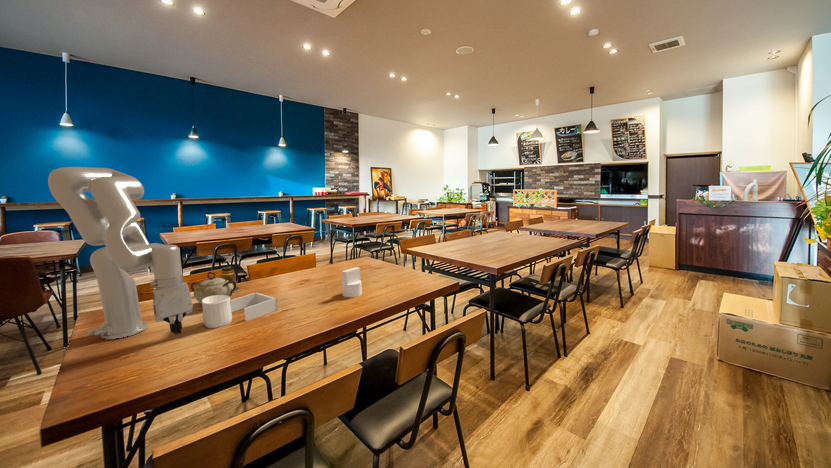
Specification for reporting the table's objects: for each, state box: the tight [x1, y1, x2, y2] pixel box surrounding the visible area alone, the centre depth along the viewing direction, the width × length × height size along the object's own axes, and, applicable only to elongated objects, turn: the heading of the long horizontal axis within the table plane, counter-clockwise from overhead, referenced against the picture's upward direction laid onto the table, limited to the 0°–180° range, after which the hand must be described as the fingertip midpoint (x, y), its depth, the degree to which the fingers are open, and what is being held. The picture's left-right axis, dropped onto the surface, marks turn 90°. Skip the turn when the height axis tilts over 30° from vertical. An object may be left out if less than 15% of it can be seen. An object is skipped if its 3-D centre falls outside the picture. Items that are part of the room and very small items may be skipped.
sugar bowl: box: [190, 271, 237, 305], centre depth 142 cm, size 20×15×15 cm
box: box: [230, 292, 278, 322], centre depth 134 cm, size 13×15×5 cm
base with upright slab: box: [341, 267, 363, 298], centre depth 153 cm, size 9×9×12 cm
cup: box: [201, 295, 233, 329], centre depth 122 cm, size 10×10×10 cm
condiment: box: [220, 266, 240, 293], centre depth 161 cm, size 7×8×12 cm
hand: (176, 332), depth 112 cm, fingers closed
